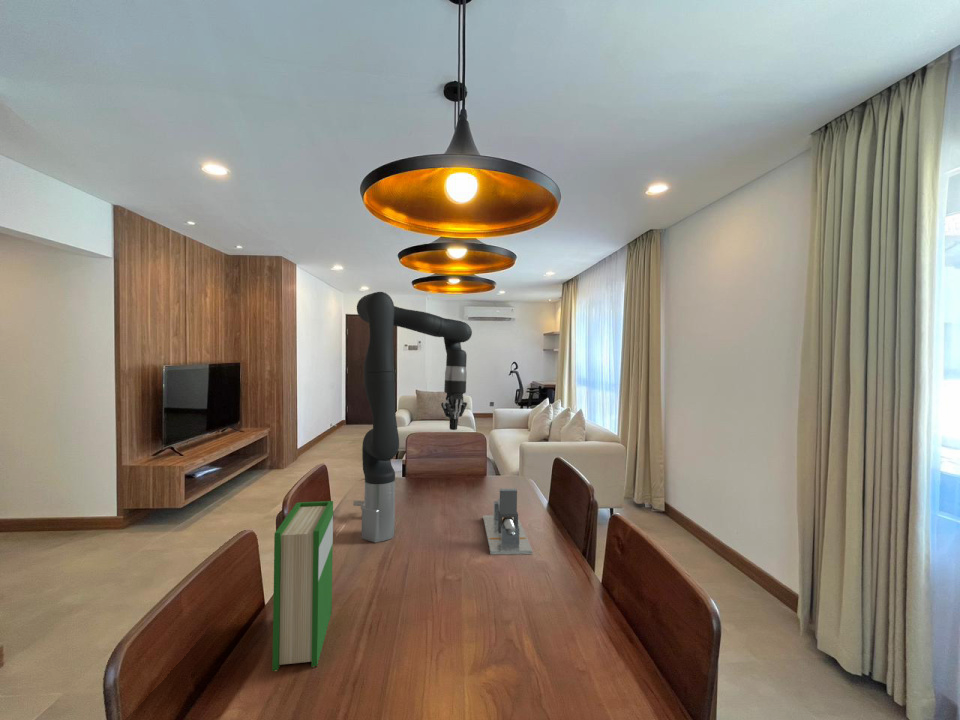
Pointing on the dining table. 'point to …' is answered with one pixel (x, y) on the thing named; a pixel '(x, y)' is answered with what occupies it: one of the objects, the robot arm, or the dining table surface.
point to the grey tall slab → (507, 506)
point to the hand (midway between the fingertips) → (453, 429)
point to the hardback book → (302, 583)
